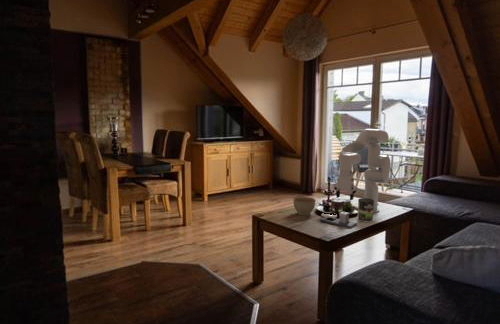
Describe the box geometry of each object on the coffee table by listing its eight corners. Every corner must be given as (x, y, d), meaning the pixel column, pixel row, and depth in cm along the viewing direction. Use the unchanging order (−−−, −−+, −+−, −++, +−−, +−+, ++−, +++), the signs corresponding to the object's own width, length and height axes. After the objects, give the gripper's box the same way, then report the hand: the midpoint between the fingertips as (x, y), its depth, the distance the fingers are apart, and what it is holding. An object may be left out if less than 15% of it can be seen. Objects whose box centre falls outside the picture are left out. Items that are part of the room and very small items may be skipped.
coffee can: (375, 221, 247) (376, 201, 245) (361, 222, 245) (362, 202, 243) (368, 217, 257) (369, 197, 255) (354, 218, 255) (355, 198, 253)
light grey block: (342, 223, 244) (342, 211, 243) (348, 224, 241) (349, 212, 240) (339, 224, 241) (339, 213, 240) (345, 226, 238) (345, 214, 237)
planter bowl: (308, 218, 254) (309, 203, 252) (288, 214, 263) (289, 200, 261) (319, 213, 266) (319, 199, 264) (299, 209, 276) (300, 195, 274)
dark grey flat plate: (327, 218, 254) (327, 216, 254) (356, 225, 240) (356, 223, 239) (320, 221, 248) (320, 219, 248) (350, 228, 233) (350, 226, 233)
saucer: (326, 212, 267) (326, 211, 267) (339, 215, 260) (339, 214, 260) (318, 216, 259) (318, 215, 259) (331, 219, 252) (331, 218, 252)
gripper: (360, 173, 233) (359, 199, 235) (336, 170, 244) (335, 195, 247) (355, 175, 227) (354, 201, 230) (331, 172, 239) (330, 197, 241)
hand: (344, 198), depth 238 cm, fingers open, 9 cm apart
